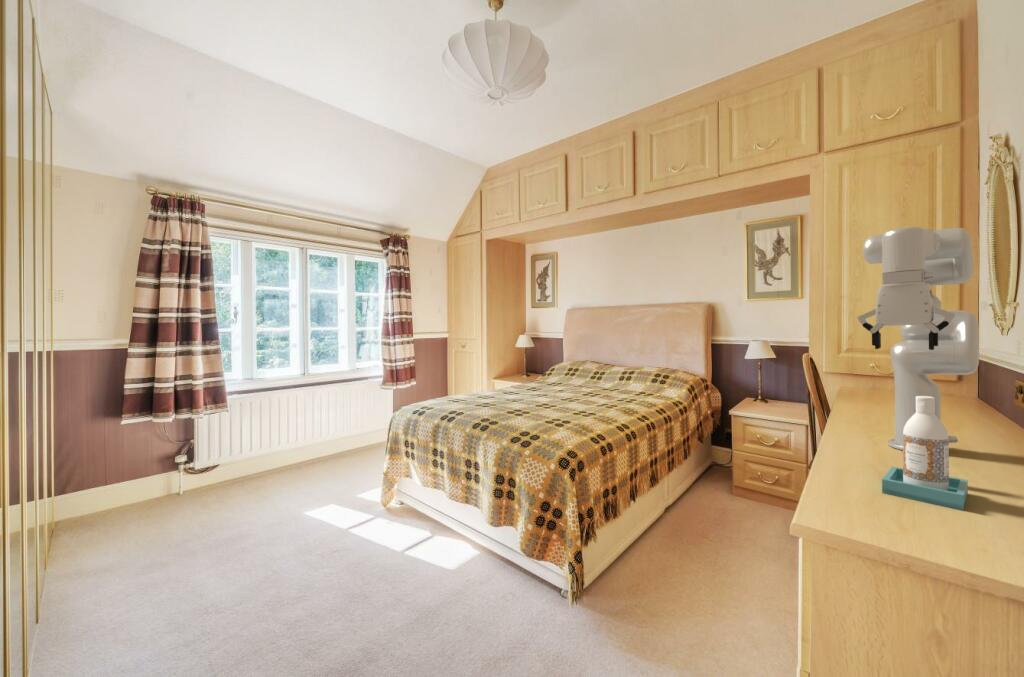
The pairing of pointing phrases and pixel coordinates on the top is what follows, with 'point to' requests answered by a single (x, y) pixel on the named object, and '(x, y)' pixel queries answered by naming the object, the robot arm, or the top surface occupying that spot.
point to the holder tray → (926, 490)
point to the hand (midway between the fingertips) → (903, 348)
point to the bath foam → (926, 447)
